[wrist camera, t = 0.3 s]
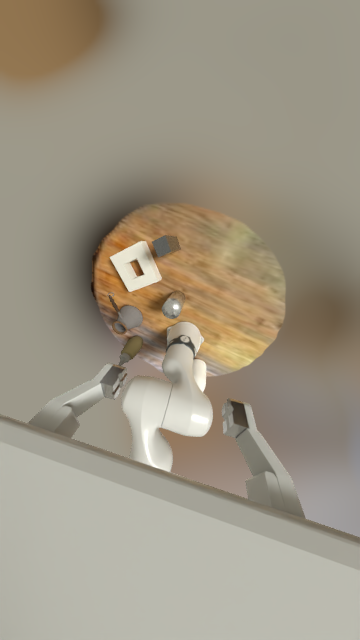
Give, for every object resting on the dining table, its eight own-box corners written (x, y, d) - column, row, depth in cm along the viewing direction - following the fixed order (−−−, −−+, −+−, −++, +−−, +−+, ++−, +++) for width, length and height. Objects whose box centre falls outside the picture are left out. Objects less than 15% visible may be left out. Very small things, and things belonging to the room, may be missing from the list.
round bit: (183, 307, 59) (177, 320, 49) (169, 302, 59) (160, 315, 49) (187, 293, 55) (182, 305, 45) (172, 288, 56) (163, 299, 45)
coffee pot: (145, 325, 68) (130, 344, 56) (124, 321, 70) (105, 339, 57) (143, 284, 57) (124, 297, 44) (118, 280, 58) (93, 291, 46)
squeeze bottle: (143, 334, 72) (126, 360, 57) (145, 346, 76) (129, 372, 61) (130, 333, 73) (109, 357, 58) (132, 344, 77) (113, 369, 62)
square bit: (180, 248, 47) (171, 251, 36) (170, 253, 49) (158, 257, 37) (176, 236, 46) (165, 235, 34) (166, 241, 47) (151, 241, 35)
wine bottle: (197, 372, 79) (191, 434, 53) (185, 362, 76) (174, 422, 51) (209, 365, 74) (209, 430, 49) (198, 355, 72) (192, 418, 46)
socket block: (161, 278, 54) (158, 281, 50) (134, 288, 59) (129, 292, 55) (145, 241, 48) (140, 241, 45) (116, 256, 53) (109, 257, 49)
